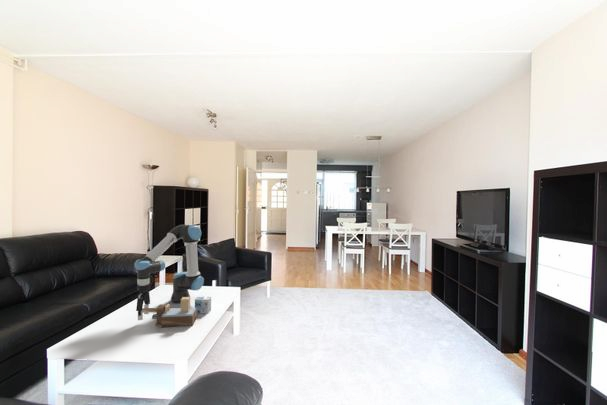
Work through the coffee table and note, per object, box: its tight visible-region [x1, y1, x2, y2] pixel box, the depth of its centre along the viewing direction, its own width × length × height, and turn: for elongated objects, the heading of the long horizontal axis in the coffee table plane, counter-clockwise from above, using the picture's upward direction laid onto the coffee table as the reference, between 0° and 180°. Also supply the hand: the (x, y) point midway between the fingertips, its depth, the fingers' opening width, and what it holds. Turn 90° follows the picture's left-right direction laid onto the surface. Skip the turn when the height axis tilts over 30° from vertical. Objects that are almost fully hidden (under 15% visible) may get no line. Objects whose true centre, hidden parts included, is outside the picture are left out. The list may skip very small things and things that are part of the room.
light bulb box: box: [194, 295, 212, 315], centre depth 221 cm, size 11×7×11 cm, turn 88°
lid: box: [162, 296, 196, 317], centre depth 201 cm, size 12×19×10 cm, turn 98°
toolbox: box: [156, 303, 197, 328], centre depth 200 cm, size 12×24×12 cm, turn 98°
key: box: [142, 307, 157, 314], centre depth 198 cm, size 2×14×2 cm, turn 98°
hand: (143, 316), depth 198 cm, fingers open, 9 cm apart
